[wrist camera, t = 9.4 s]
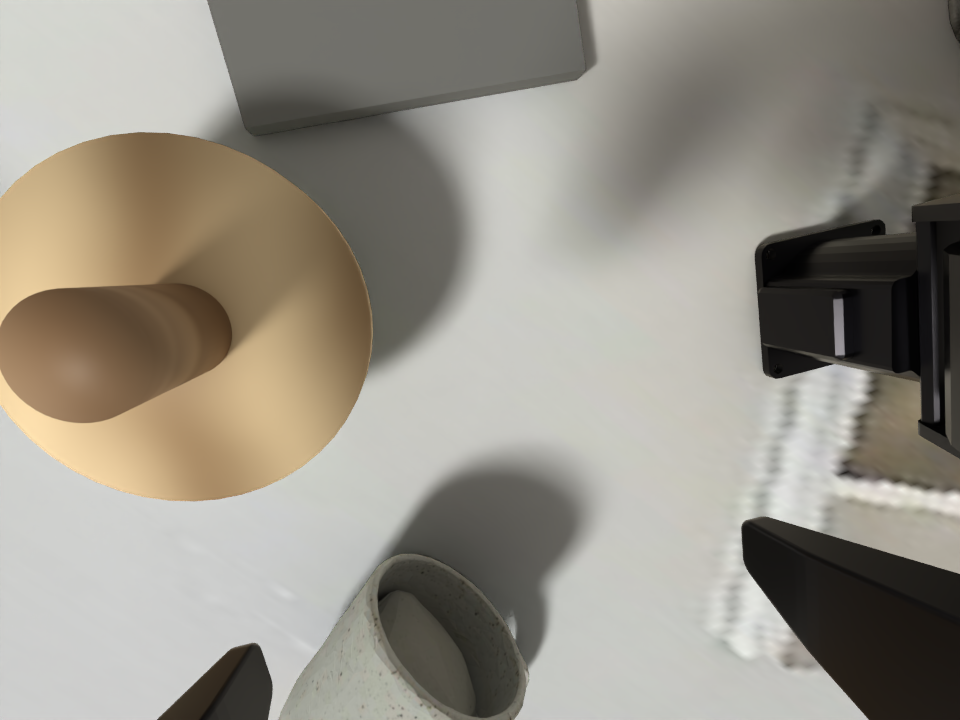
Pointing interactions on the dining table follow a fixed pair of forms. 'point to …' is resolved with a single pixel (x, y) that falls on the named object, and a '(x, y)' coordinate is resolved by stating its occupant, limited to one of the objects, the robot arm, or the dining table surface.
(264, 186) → the lid
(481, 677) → the ceramic mug
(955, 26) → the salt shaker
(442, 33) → the mat
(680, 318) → the dining table surface
